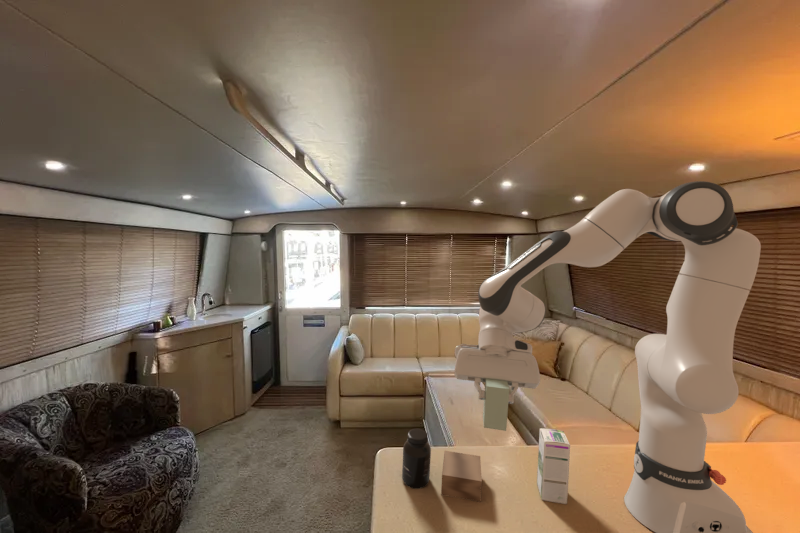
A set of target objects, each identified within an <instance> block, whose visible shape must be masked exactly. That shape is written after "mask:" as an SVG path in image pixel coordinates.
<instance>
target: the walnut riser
mask: <svg viewBox="0 0 800 533" xmlns="http://www.w3.org/2000/svg"><path fill="white" fill-rule="evenodd" d="M442 460H443V463H442V472H441V473H442V474H441V487H440V488H441V489H440V495H441V496H445V497H451V498H457V499H462V500H466V501H467V500H469V501H474V502H479V503H481V502H482V486H483V485H482V484H483V478H482V476H483V475H482V461H481V456H480V455H477V454H476V455H475V454H468V453H462V452H455V451H448V450H444V452H443V459H442Z"/></svg>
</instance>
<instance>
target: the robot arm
mask: <svg viewBox="0 0 800 533" xmlns="http://www.w3.org/2000/svg"><path fill="white" fill-rule="evenodd" d="M738 223H739V222H738V219H737V216H736V214H735V210H734V204H733V200H732V197H731V195H730V193H729V192H728V191H727V190H726V189H725V188H724V187H723V186H721V185H719V184H717V183H714V182H710V181H702V180H698V181H696V180H695V181H690V182H685V183H682V184H680V185H678V186H675V187H674V188H671V190H669V191H668V192H666V193H665V194H663V195H661V196H659V197H650V196H648V195H647V194H645V193H643V192H641V191H639V190H637V189H632V188H625V189H624V188H623V189H620V190H618V191H616V192H614V193H613V194H611V195H609V196H608V197H607V198H605V199H603V201H601V202H600V203H599V204H598V205H596V206H595V207H594V208H593V209H592V210H591V211H589V213H587V214H586V215H585V216H584V217H583V218H582V219H581V220H580V221H578V222H577V223H576V224H574V225H572V226H570V227H569V228H568V229H565V230H560V231H557V230H556V231H553V232H552V233H550V234H548V235H545V237H543V238H542V239H540V240H539V241H538V242H537V243H535V244H533V246H531V247H530V248H528V249H527V250H526V251H524V252H523V253H522V254H521V255H519V256H518V257H517V258H516V259H513V261H512V262H510V263H509V264H508V265H507V266H504V267H503V268H502V269H501V270H499V271H497V272H495V273H493V274H492V275H490V276H488V277H487V278H486V279H484V280H483V281H482V282H481V284H480V286H479V287H478V295H477V296H478V303H479V313H478V315H479V316H478V325H479V332H478V341H477V344H468V343H461V344H459V345H456V347H455V348H454V358H455V359H456V360H455V363H454V377H455V378H456V379H457V380H463V381H469V382H470V381H471V382H474V387H475V389H476V391H477V393H478V400H480V401H484V400H485V389H482V387H481V383H485V379H494V380H502V381H507V382H508V386H509V387H510V390H511V393H509V401H508V404H509V405H514V404H515V403H514V402H515V395H516V393H517V391H518V389H519V388H527V389H532V390H533V389H537V387H538V386H539V385H540V383H541V375H540V369H539V364H538V362H537V359H536V357H535V355H534V354H533V345H532V344H531V343H528V342H526V341H523V340H520V339H518V338H515V337H514V334H523V333H527V332H531V331H533V330H536V329H537V328H539V327H540V326H541V325H542V323H543V321H544V320H545V317H546V305H545V303H544V301H543V300H541V299H540V298H539V297H537V296H536V295H535V294H533V293H531V292H530V291H529V290H527V289H525V288H524V287H522V285H523V284H525V283H526V282H528V281H529V280H530V279H532V277H534V276H536V275H537V274H538V273H540V272H541V271H543V269H545V268H546V267H548V266H552V265H555V264H567V265H568V264H569V265H572V266H573V265H574V266H578V267H581V268H582V267H583V268H597V267H602V266H605V265H606V264H607V263H609V262H611V261H612V260H614V259H615V258H617V256H618V255H620V254H621V252H623V251H624V250H625V249H626V248H627V247H628V246H629V245H631V244H632V243H633V242H634V241H635V240H636V239H638V238H639V237H640V236H642V235H643V234H644V235H645V234H648V235H651V236H654V237H656V238H658V239H661V240H665V241H668V242H669V241H670V242H681V243H682V245H683V246H684V252H685V253H684V260H683V264H682V265H681V267H680V269H679V270H680V271H679V272H678V275H677V277H676V280H675V283H674V285H673V288H672V291H671V293H670V296H669V299H668V301H667V304H666V308H665V312H666V315H667V326H666V334H663V333H649V334H647V335H645V336H643V337H642V338H640V339H639V340H638V342H637V343H636V345H635V347H634V356H635V359H636V360H635V361H636V363H637V366H636V367H637V378H638V391H639V399H640V400H639V401H640V402H639V403H640V420H639V431H638V433H639V434H638V441H637V442H636V444H635V448H634V449H635V450H634V456H633V468H634V470H633V471H634V472H633V475H632V479H631V481H630V484H629V486H628V489H627V492H626V493H625V494H624V498H623V501H624V504H625V507H626V509H627V510H628V511H629V513H630V514H631V516H633V517H634V518H635V519H636V520H637V521H638V522H639V523H641V524H642V525H643V526H644V527H646V528H648V529H649V530H650V531H652V532H654V533H754V532H753V531H752V530H751V529H750V528H749V526H748V525H747V522H746V517H745V516H744V512H743V511H742V509H741V508H740V507H739V505H738V504H737V503H736V501H734V499H732V498H731V497H730V495H729V494H728V493H726V491H724V490H723V489H722V488H721V487H720V486H723V485H725V484H726V483H727V478H726V476H724V475H723V474H721V472H720V471H719V470H717V469H713V468H712V466H711V465H710V464H709V463H708V462H706V461H705V456H706V448H707V447H706V445H707V438H708V428H707V425H706V422H705V419H704V417H703V415H704V414H705V415H715V414H720V413H723V412H726V411H727V410H729V409H731V408H732V407H733V406H734V405H735V403H736V402H737V400H738V397H739V385H738V383H737V380H736V377H735V374H734V369H733V367H734V366H733V361H734V360H733V359H734V358H733V357H734V342H735V334H736V328H737V325H738V321H739V320H740V317H741V314H742V312H743V309H744V307H745V304H746V302H747V299H748V297H749V294H750V292H751V289H752V287H753V284H754V281H755V278H756V275H757V272H758V268H759V262H760V256H761V248H762V246H761V241H760V240H759V239H758V237H757V236H756V235H754V234H752V233H751V232H748V231H746V230H743V229H741V228H737V227H738ZM719 485H720V486H719Z"/></svg>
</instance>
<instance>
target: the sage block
mask: <svg viewBox="0 0 800 533" xmlns="http://www.w3.org/2000/svg"><path fill="white" fill-rule="evenodd" d="M484 391H485V400H483V409H482V411H483V412H482V422H483V428H484V429H489V430H490V429H491V430H497V431H503V432H506V431H507V426H508V424H507V423H508V414H509V412H508V411H509V403H508V401H509V394H510V386H508V382H507V381H502V380H494V379H485V382H484Z"/></svg>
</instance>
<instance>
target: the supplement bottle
mask: <svg viewBox="0 0 800 533" xmlns="http://www.w3.org/2000/svg"><path fill="white" fill-rule="evenodd" d="M402 448H403V449H402V469H401V471H402V472H401V473H402V474H401V478H402V481H403V483H404V485H406V486H407V487H408V488H411V489H414V490H419V489H422V488H425V487H426V486H428V484H429V482H430V476H431V459H432V458H431V456H432V448H431V445H430V443H429V442H428V432H426V430H425V429H422V428H412V429H410V430H409V431H408V432H407V439H406V441H405V442H404V444H403V447H402Z"/></svg>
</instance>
